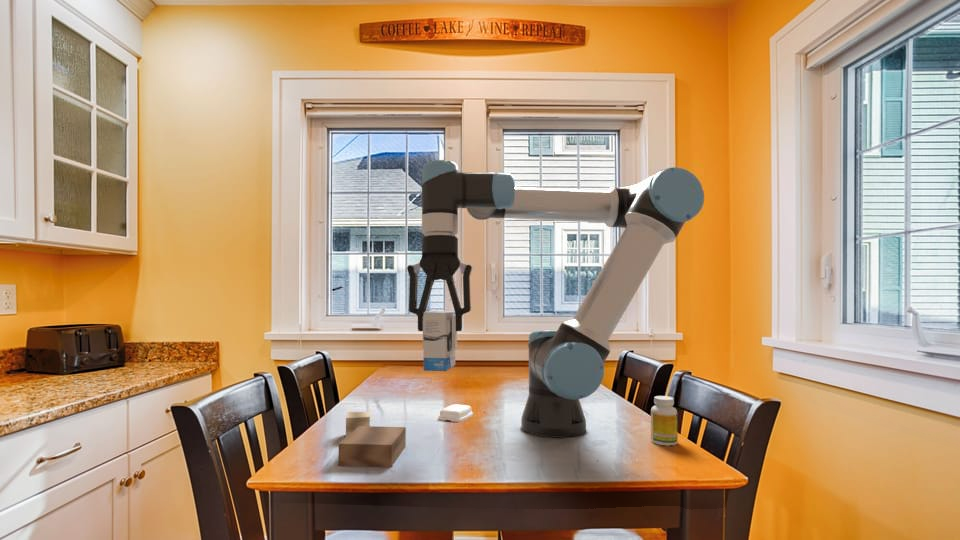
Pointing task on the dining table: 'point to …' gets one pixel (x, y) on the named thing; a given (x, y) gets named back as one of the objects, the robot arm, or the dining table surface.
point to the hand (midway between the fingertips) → (440, 347)
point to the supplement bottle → (664, 421)
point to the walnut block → (372, 446)
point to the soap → (455, 413)
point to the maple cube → (356, 420)
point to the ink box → (438, 341)
